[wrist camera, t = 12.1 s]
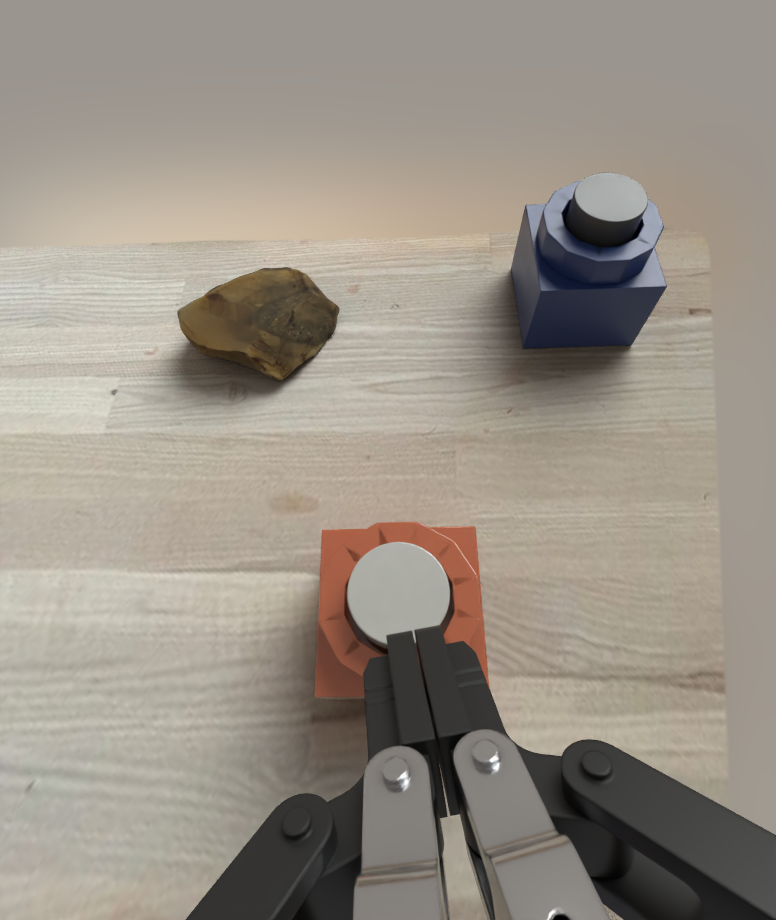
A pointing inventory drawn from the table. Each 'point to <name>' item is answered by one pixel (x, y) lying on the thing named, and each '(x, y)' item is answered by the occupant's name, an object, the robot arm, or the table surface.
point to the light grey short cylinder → (397, 591)
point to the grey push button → (606, 209)
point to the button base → (338, 633)
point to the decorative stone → (262, 321)
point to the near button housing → (583, 280)
